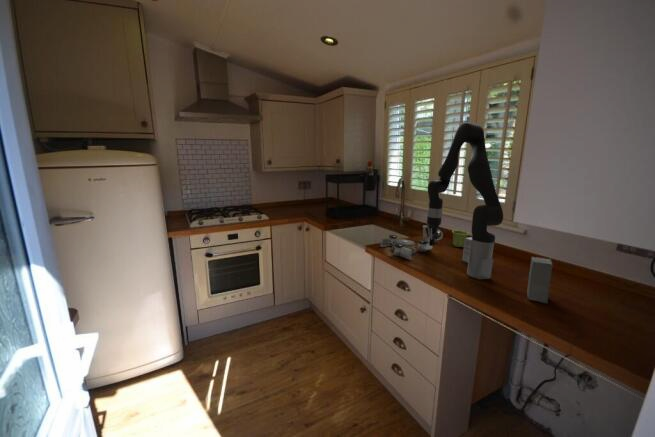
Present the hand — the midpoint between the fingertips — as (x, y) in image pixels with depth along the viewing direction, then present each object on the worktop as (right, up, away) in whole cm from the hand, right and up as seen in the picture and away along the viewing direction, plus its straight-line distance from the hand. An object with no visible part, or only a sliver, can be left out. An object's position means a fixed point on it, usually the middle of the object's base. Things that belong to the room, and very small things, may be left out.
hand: (431, 245), depth 169 cm
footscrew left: (-19, -5, -10) cm, 22 cm away
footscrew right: (-3, -3, +2) cm, 5 cm away
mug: (+7, 0, +19) cm, 20 cm away
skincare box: (+23, -16, -51) cm, 59 cm away
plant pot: (+21, -2, +13) cm, 25 cm away
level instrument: (-16, -3, +1) cm, 16 cm away
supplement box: (+17, -8, -14) cm, 23 cm away
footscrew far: (-23, -1, +8) cm, 24 cm away
